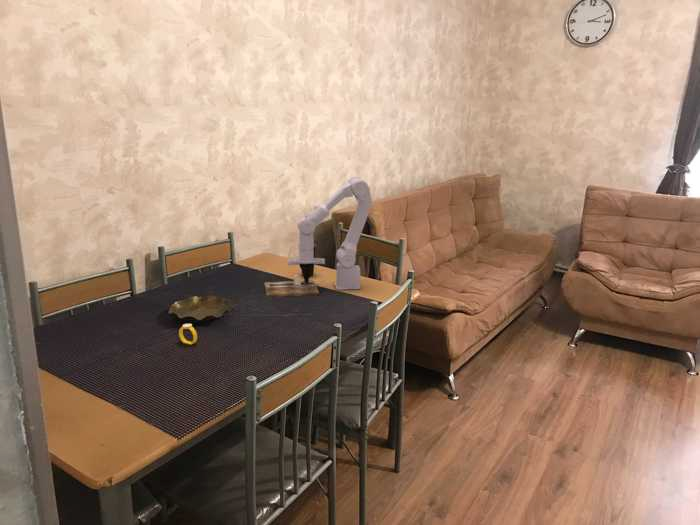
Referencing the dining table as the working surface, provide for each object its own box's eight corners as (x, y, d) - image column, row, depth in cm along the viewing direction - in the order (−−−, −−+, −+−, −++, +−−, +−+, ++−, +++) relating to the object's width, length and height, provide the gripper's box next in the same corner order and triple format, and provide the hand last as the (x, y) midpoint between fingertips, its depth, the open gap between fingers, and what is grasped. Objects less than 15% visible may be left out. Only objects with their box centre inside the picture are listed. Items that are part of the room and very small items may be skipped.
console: (313, 282, 228) (313, 277, 228) (319, 294, 213) (319, 289, 213) (264, 284, 224) (264, 279, 224) (266, 297, 209) (266, 291, 209)
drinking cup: (296, 274, 239) (295, 229, 234) (312, 272, 242) (312, 228, 237) (302, 279, 233) (302, 232, 227) (319, 277, 236) (319, 231, 230)
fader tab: (300, 284, 221) (300, 274, 220) (301, 288, 217) (301, 277, 216) (293, 285, 220) (292, 274, 219) (294, 288, 217) (294, 277, 215)
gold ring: (178, 344, 167) (175, 325, 166) (184, 340, 170) (182, 322, 168) (193, 346, 165) (191, 327, 163) (199, 343, 167) (197, 324, 166)
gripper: (322, 245, 221) (322, 278, 224) (286, 246, 218) (287, 279, 221) (325, 250, 214) (325, 283, 218) (288, 251, 211) (288, 284, 215)
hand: (306, 281), depth 219 cm, fingers closed
